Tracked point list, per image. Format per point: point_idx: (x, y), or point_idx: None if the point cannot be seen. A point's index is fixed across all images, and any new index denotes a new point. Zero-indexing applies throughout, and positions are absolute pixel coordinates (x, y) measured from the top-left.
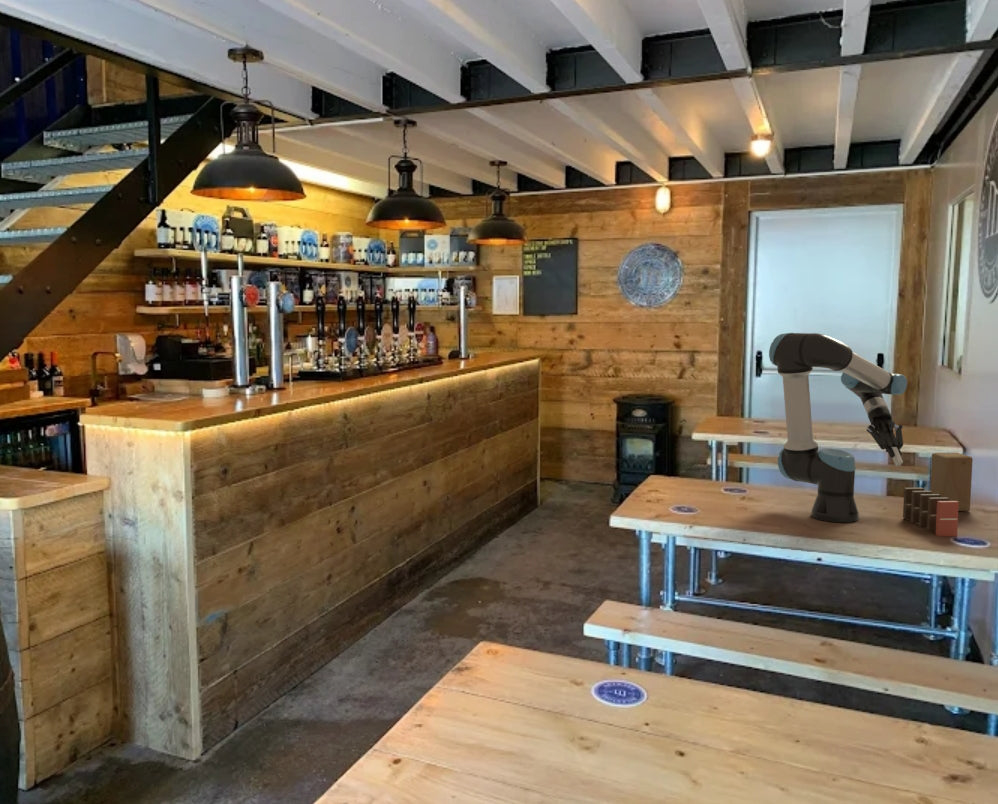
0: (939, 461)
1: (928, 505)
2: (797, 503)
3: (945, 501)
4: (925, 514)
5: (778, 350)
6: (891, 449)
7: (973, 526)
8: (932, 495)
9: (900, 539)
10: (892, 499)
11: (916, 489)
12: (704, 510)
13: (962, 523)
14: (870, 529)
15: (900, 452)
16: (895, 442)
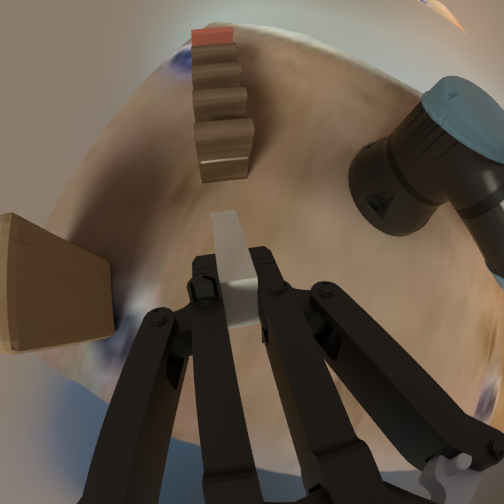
0: (26, 265)
1: (235, 60)
2: (437, 320)
3: (216, 30)
4: None
5: None
6: (264, 279)
7: (122, 136)
8: (214, 64)
9: (299, 65)
10: (190, 413)
11: (219, 121)
12: None
13: (128, 155)
14: (336, 109)
15: (196, 270)
16: (216, 327)
